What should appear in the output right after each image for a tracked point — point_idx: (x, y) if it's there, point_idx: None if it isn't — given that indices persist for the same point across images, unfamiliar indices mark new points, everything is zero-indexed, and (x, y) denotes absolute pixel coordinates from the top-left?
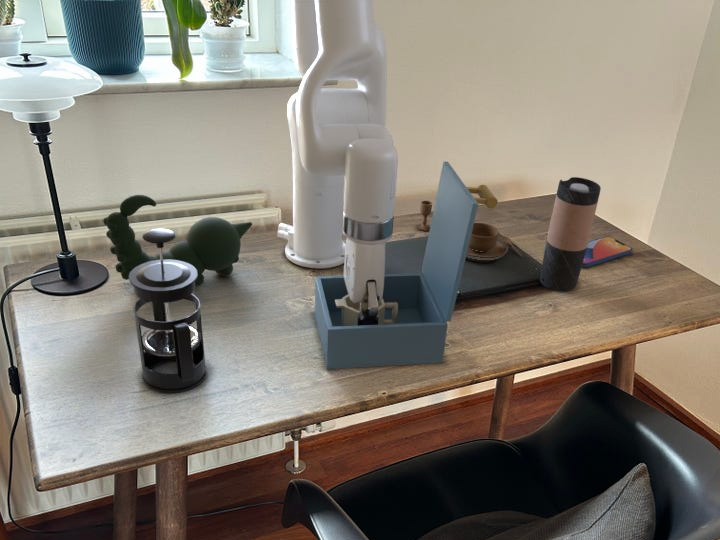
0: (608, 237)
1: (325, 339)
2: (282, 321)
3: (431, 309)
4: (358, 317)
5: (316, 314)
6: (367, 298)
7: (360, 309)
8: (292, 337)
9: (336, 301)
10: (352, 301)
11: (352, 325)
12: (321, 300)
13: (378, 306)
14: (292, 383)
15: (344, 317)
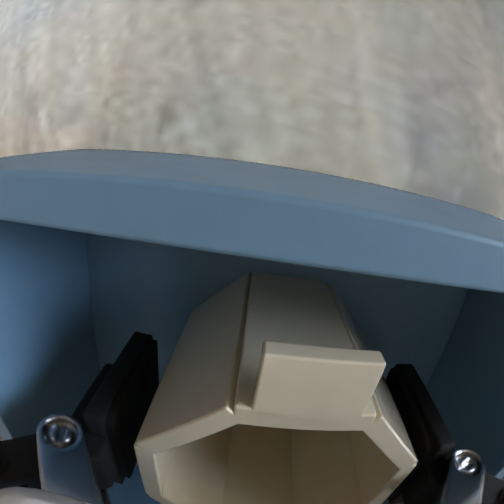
0: None
1: (74, 155)
2: (472, 72)
3: None
4: (89, 418)
5: (468, 209)
6: (356, 482)
7: (51, 468)
8: (356, 57)
9: (343, 371)
10: (11, 491)
11: (190, 353)
12: (401, 223)
13: (295, 488)
14: (51, 28)
15: (236, 343)
